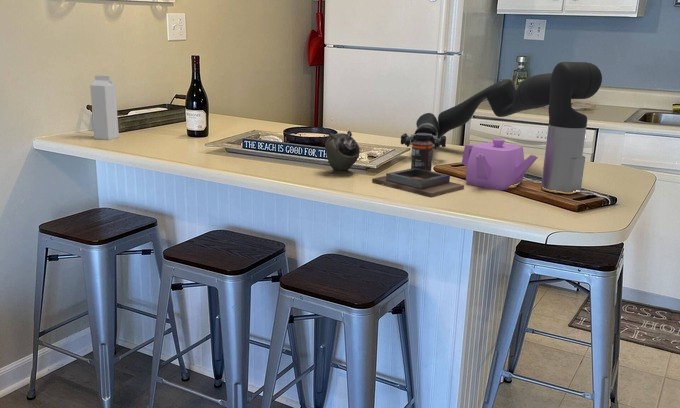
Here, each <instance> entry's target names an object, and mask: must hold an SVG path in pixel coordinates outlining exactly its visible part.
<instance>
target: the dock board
mask: <svg viewBox="0 0 680 408" xmlns="http://www.w3.org/2000/svg"><path fill="white" fill-rule="evenodd" d="M410 178H415V179H419V180H423V179H424V178H420V177H410ZM371 182H372V183H374V184H378V185H382V186H386V187H390V188H393V189H394V188H395V189H398V190H401V191H404V192H410V193H412V194H413V193H414V194H416V195H417V194H418V195H421V196H424V197H425V196H426V197H429V198H433V197H438V196H441V195H444V194H449V193H453V192H456V191H461V190H464V189H465V184H461V183H457V182H453V181H450V183H447V184H442V185H438V186H434V187H430V188H426V189H417V188H413V187H409V186H405V185H401V184H397V183H393V182H389V181H386V175H384V176H377V177H374V178H373V177H372V179H371Z"/></svg>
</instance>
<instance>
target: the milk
mask: <svg viewBox="0 0 680 408" xmlns="http://www.w3.org/2000/svg"><path fill="white" fill-rule="evenodd" d="M110 77H111V76H109V75H98V74H96V75H94V81H93V82H91V84H90V86H89V88H90V98H91V99H90V100H91V111H92V123H93V124H92V125H93V138H94V140H104V141H105V140H107V141H111V140H115V139H119V138H120V134H119V121H118V120H119V118H118V103H117V89H116V84H115V83H113V81H111V78H110Z"/></svg>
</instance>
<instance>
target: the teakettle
mask: <svg viewBox="0 0 680 408" xmlns="http://www.w3.org/2000/svg"><path fill="white" fill-rule="evenodd" d="M505 141H506V140H505V139H503V138H493V139H492V141H489V142H484V143H479V144H473V143H472V144H470V143H469V144H465V145H464V147H463V155H462V160H461V164H462V165H464V167H466V169H465V170H466V172H465V182H466V184H467V185H471V186H475V187H479V188H484V189H491V190H496V191H506V190H509V189H508V187H509V186H511V185H514V184H517V183H519V182H521V181H522V182H523V180H524V176H525V174H526V173H527V171H528V170H529V169H530V168H531V166H532V165H534V163H535V161H536V160H537V159H538V158H539V157H538V156H537V155H533V154H530V155H529V156H528V157H527V158H526V159H525V154H524V147H523V146H522V145H517V144H511V143H510V144H509V143H505Z"/></svg>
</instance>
